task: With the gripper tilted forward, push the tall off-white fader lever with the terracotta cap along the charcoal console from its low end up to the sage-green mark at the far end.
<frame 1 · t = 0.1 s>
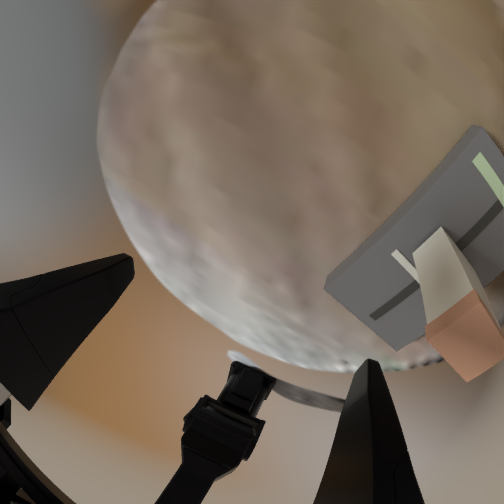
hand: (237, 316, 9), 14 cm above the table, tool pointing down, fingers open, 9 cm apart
console: (430, 255, 19), on the table
fader: (458, 297, 13), point 7 cm above the table, slide at 0.0 cm
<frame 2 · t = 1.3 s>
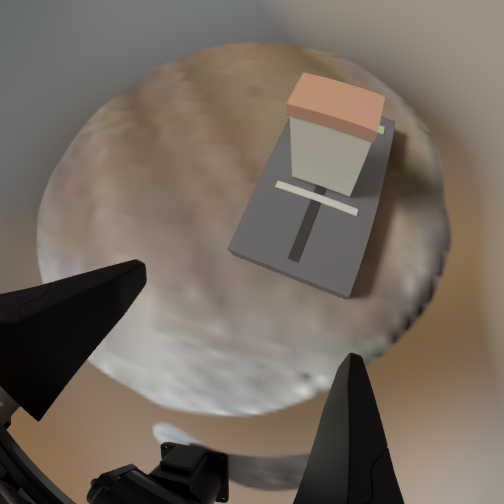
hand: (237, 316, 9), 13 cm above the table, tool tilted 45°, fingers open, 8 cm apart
console: (320, 193, 24), on the table
fader: (331, 140, 17), point 7 cm above the table, slide at 0.0 cm
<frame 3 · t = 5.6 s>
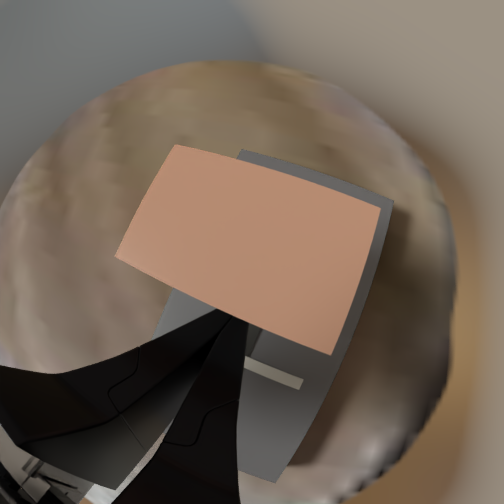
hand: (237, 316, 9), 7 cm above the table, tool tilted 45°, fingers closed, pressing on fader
console: (255, 332, 16), on the table
fader: (261, 271, 10), point 7 cm above the table, slide at 1.6 cm, touching gripper
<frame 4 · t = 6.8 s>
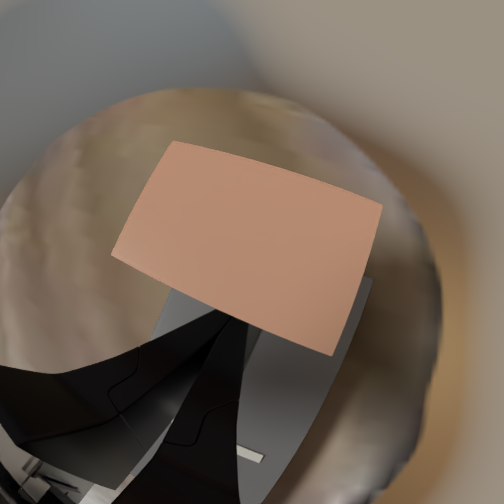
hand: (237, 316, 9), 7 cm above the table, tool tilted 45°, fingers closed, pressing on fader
console: (222, 403, 15), on the table
fader: (261, 269, 10), point 7 cm above the table, slide at 6.7 cm, touching gripper
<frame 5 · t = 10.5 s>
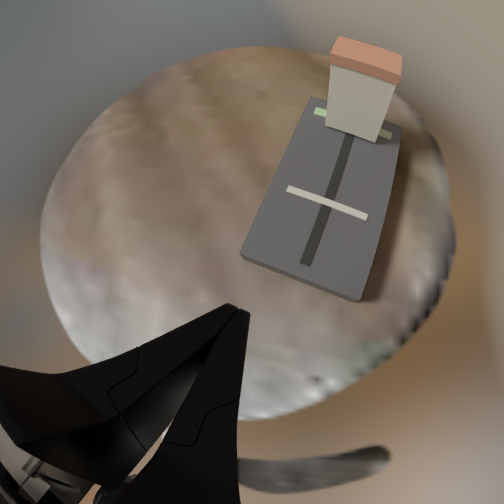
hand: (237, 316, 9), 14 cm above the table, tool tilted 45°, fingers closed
console: (329, 197, 24), on the table
fader: (360, 91, 19), point 7 cm above the table, slide at 6.7 cm
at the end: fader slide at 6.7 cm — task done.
